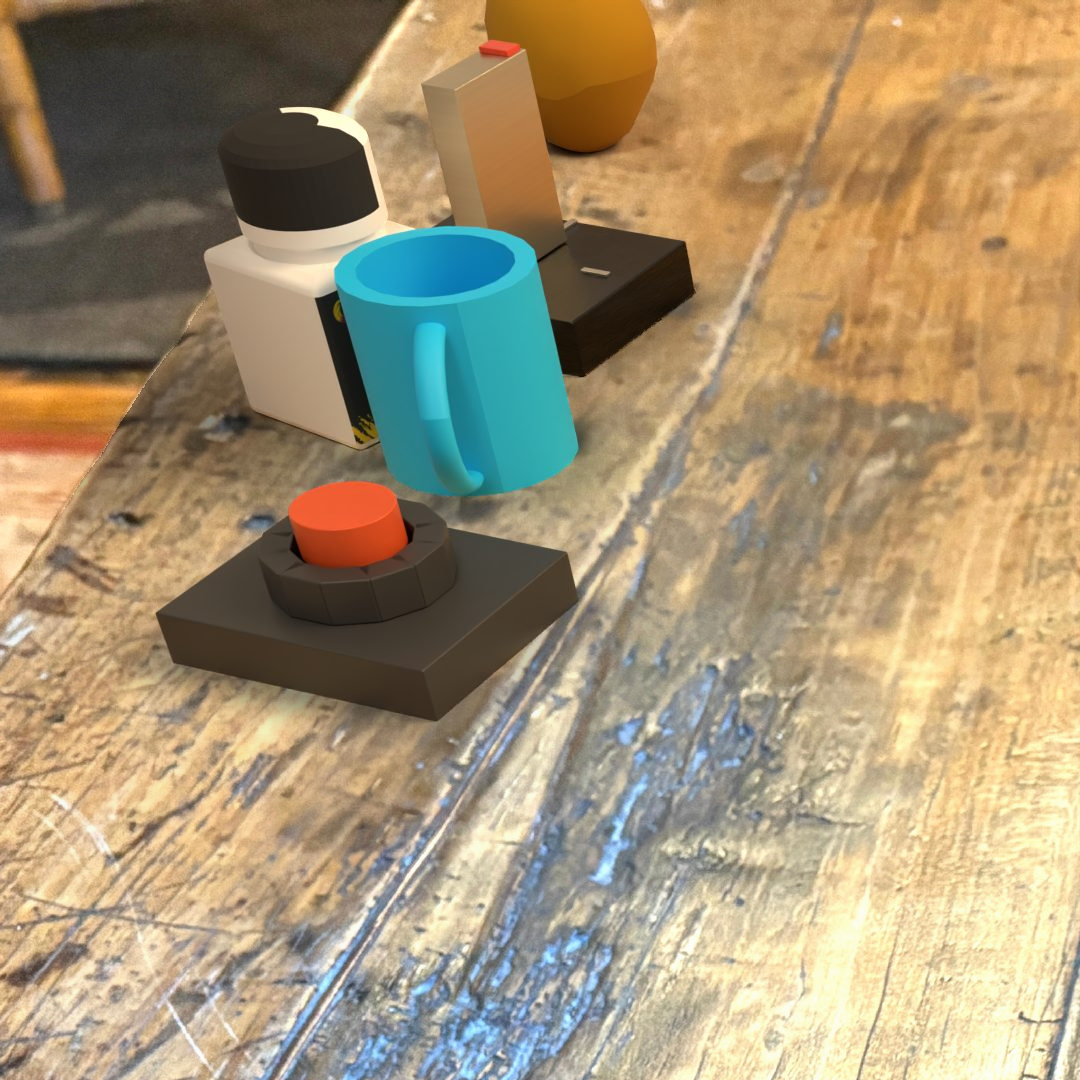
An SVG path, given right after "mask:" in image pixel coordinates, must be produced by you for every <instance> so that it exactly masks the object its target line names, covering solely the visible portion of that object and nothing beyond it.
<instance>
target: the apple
mask: <svg viewBox="0 0 1080 1080" xmlns="http://www.w3.org/2000/svg"><path fill="white" fill-rule="evenodd" d="M483 21H484V27H485V32H486V36H487V42H488V41H490V40H497V41H503V42H509V43H515V44H519V45H520V48H521V49H526V53H527V57H528V62H529V67H530V71H531V76H532V81H533V85H534V90H535V94H536V99H537V104H538V108H539V113H540V118H541V122H542V127H543V131H544V136H545V140H547V142H549V143H550V144H553V145H555V146H557V147H560V148H562V149H564V150H568V151H572V152H576V153H594V152H600V151H602V150H606V149H608V148H610V147H613V146H614V145H616V144H617V143H618V142H619V141H621V139H623V138H624V137H626V136H627V135H628V134H629V133H630V132H631V130H632V129H633V126H634V124H635V122H636V120H637V118H638V115H640V112H641V109H642V107H643V105H644V103H645V101H646V99H647V96H648V94H649V92H650V90H651V87H652V86H653V84H654V81H655V76H656V71H657V65H658V52H657V40H656V39H657V38H656V34H655V31H654V27H653V24H652V21H651V18H650V15H649V12H648V11H647V9H646V7H645V5H644V4H643V1H642V0H485V10H484V19H483Z"/></svg>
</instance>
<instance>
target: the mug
mask: <svg viewBox="0 0 1080 1080" xmlns="http://www.w3.org/2000/svg"><path fill="white" fill-rule="evenodd" d="M334 276H335V284H336V287H337V291H338V294H339V298H340V302H341V305H342V309H343V312H344V316H345V319H346V323H347V326H348V330H349V333H350V337H351V341H352V344H353V348H354V351H355V355H356V358H357V362H358V365H359V369H360V372H361V376H362V379H363V383H364V387H365V390H366V394H367V397H368V401H369V404H370V408H371V411H372V415H373V418H374V422H375V426H376V429H377V433H378V436H379V440H380V442H379V444H380V446H381V450H382V454H383V457H384V461H385V464H386V468H387V471H388V473H390V474H391V475H392V477H393V478H394V479H395V480H396V481H397V482H398V483H400V484H402V485H404V486H407V487H408V488H411V489H413V490H414V491H417V492H422V493H426V494H431V495H432V494H433V495H435V496H436V495H437V496H443V497H467V498H469V497H470V498H474V497H483V496H492V495H501V494H506V493H510V492H514V491H519V490H522V489H525V488H530V487H533V486H535V485H537V484H540V483H541V482H544V481H546V480H549V479H551V478H553V477H556V476H557V475H558V474H559V473H561V472H562V471H563V470H564V469H566V468H567V467H568V466H569V465H571V464H572V463H573V461H574V459H575V457H576V455H577V453H578V451H579V450H580V449H579V447H580V446H579V442H578V437H577V433H576V429H575V424H574V423H575V422H574V419H573V415H572V411H571V406H570V401H569V396H568V393H567V389H566V383H565V379H564V375H563V372H562V370H561V366H560V361H559V357H558V352H557V348H556V344H555V339H554V335H553V330H552V326H551V321H550V317H549V313H548V308H547V304H546V299H545V295H544V290H543V286H542V282H541V277H540V273H539V268H538V264H537V260H536V255H535V251H534V249H533V248H532V247H531V246H530V245H528V244H527V243H526V242H525V241H524V240H523V239H521V238H518V237H516V236H513V235H510V234H508V233H505V232H503V231H497V230H491V229H485V228H480V227H459V226H443V227H433V226H431V227H423V228H414V230H409V231H405V232H400V233H395V234H391V235H386V236H384V237H381V238H378V239H376V240H373V241H370V242H368V243H365V244H362V245H360V246H359V247H357V248H356V249H354V250H353V251H351V252H349V253H348V254H346V255H345V256H343V257H342V259H341V260H340V262H339V263H338V264H337V266H336V267H335V268H334Z"/></svg>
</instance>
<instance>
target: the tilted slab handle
mask: <svg viewBox="0 0 1080 1080" xmlns="http://www.w3.org/2000/svg"><path fill="white" fill-rule="evenodd" d="M420 85H421V90H422V95H423V98H424V102H425V107H426V111H427V115H428V119H429V123H430V127H431V131H432V135H433V139H434V144H435V148H436V151H437V155H438V159H439V164H440V168H441V171H442V176H443V179H444V185H445V188H446V192H447V197H448V200H449V205H450V208H451V212H452V214H453V217H454V221H455V225H456V226H459V227H480V228H485V229H491V230H497V231H503V232H505V233H508V234H510V235H513V236H516V237H518V238H521V239H523V240H524V241H525V242H526V243H527V244H528V245H530V246H531V247H532V248H533V249H534V251H535V255H536V260H538V259H540V258H541V257H543V256H544V255H546V254H547V253H549V252H550V251H552V250H553V249H555V248H556V247H558V246H559V245H561V244H562V243H564V242H565V241H567V238H566V233H565V228H564V224H563V220H564V219H563V215H562V210H561V206H560V201H559V196H558V192H557V187H556V182H555V177H554V173H553V169H552V164H551V159H550V155H549V151H548V145H547V141H546V138H545V136H544V131H543V127H542V122H541V118H540V113H539V108H538V104H537V99H536V94H535V90H534V85H533V81H532V76H531V71H530V67H529V62H528V57H527V53H526V49H521V48H520V45H519V44H515V43H509V42H503V41H497V40H490V41H488V40H487V41H485V42H484V43H482V44H480V45H479V46H478V51H477V52H474V53H473V54H471V55H470V56H468V57H466V58H464V59H462V60H460V61H459V62H457V63H455V64H453V65H451V66H450V67H448V68H446V69H444V70H443V71H441V72H439V73H437V74H435V75H433V76H432V77H429V79H426V80H424V81H423V82H421V83H420Z"/></svg>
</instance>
